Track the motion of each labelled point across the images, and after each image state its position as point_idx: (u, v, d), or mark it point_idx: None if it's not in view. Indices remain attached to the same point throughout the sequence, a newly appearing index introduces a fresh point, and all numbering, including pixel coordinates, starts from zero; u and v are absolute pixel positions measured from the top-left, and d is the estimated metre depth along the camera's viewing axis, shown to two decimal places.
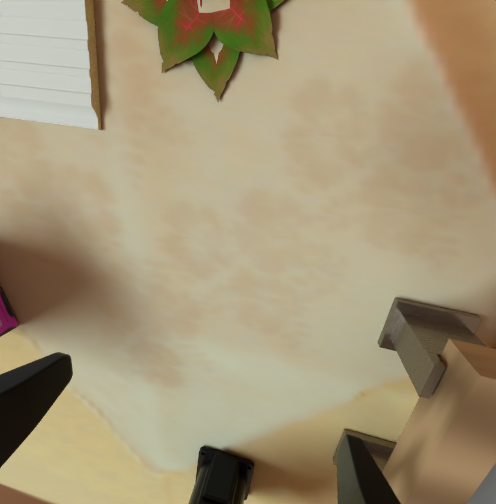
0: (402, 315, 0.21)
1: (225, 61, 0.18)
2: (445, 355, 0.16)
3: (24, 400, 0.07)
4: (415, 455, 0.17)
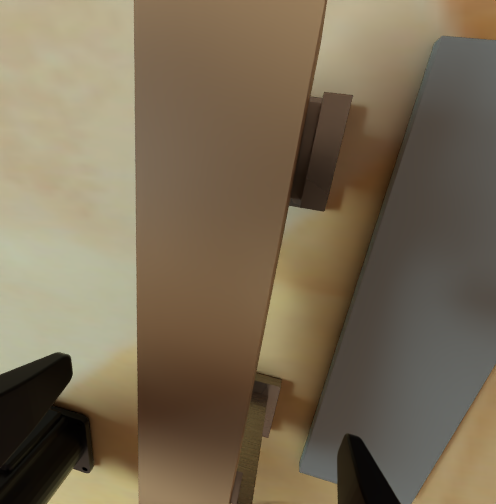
0: None
1: None
2: None
3: (23, 400, 0.07)
4: None
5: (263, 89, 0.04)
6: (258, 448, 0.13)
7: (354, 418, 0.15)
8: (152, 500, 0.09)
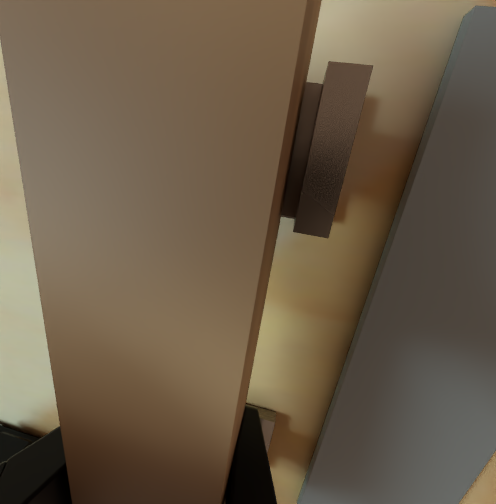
0: None
1: None
2: None
3: None
4: None
5: (219, 38, 0.02)
6: None
7: (360, 458, 0.13)
8: None
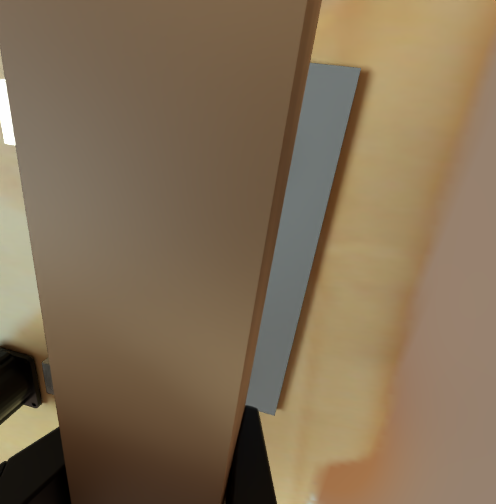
0: None
1: None
2: None
3: None
4: None
5: (220, 32, 0.02)
6: None
7: None
8: None
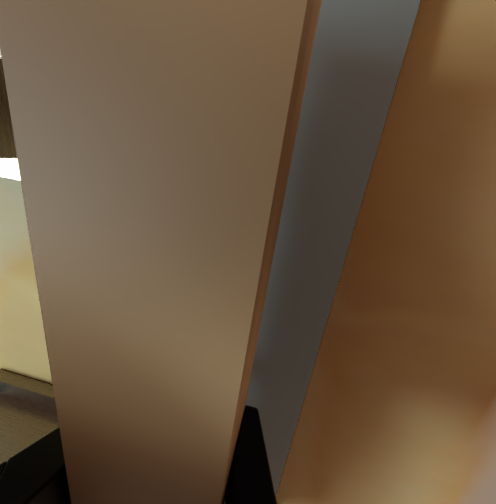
0: None
1: None
2: None
3: None
4: None
5: (220, 32, 0.02)
6: None
7: None
8: None
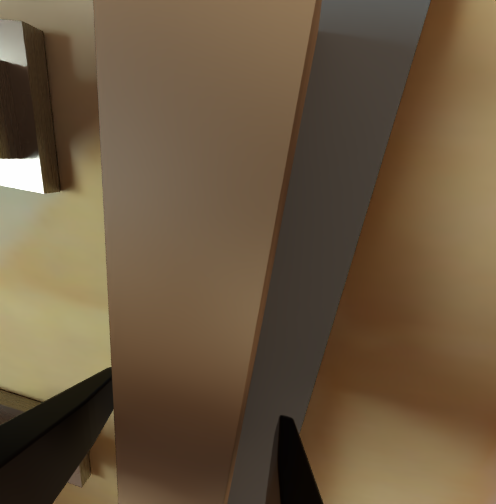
0: None
1: None
2: None
3: (85, 419, 0.07)
4: None
5: (248, 79, 0.04)
6: None
7: None
8: None
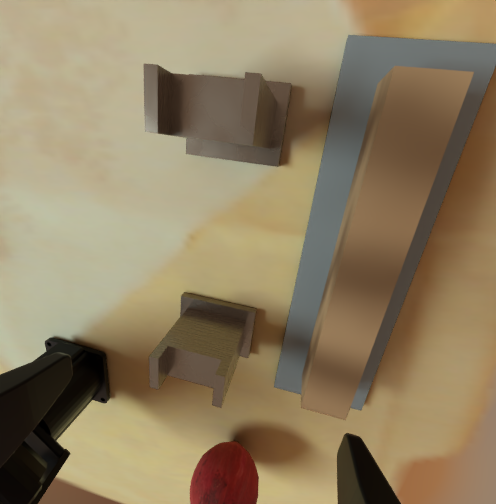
0: None
1: None
2: (373, 104, 0.14)
3: (24, 400, 0.07)
4: (343, 236, 0.15)
5: (439, 117, 0.11)
6: (234, 348, 0.18)
7: None
8: (329, 338, 0.16)
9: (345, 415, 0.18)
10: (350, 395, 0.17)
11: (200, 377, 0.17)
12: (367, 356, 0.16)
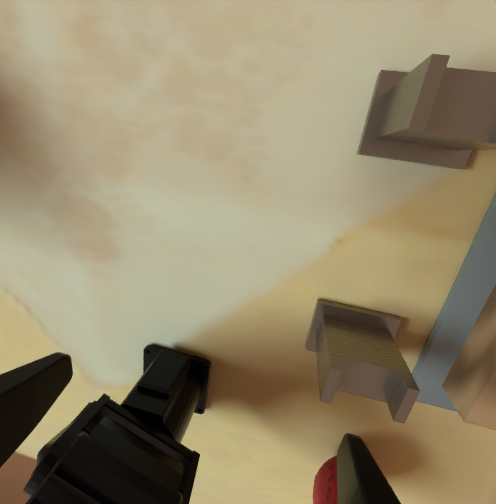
0: (388, 90, 0.15)
1: None
2: None
3: (24, 400, 0.07)
4: None
5: None
6: (402, 359, 0.17)
7: None
8: None
9: None
10: None
11: (368, 390, 0.16)
12: None
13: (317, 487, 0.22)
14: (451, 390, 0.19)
